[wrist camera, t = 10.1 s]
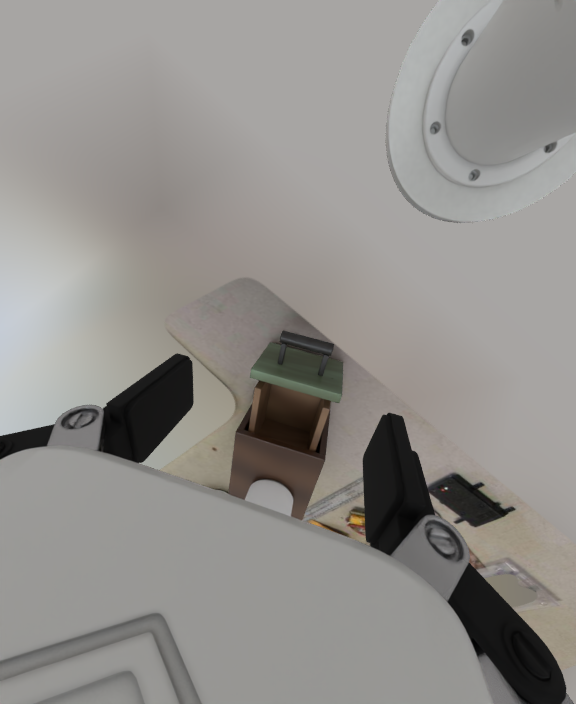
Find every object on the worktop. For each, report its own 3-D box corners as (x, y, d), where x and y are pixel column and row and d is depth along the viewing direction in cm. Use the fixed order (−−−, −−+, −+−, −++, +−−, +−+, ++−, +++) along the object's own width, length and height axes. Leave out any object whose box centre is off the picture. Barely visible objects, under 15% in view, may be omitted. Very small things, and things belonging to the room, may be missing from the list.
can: (250, 502, 37) (211, 611, 26) (249, 473, 34) (204, 581, 23) (293, 512, 36) (270, 630, 25) (295, 483, 33) (270, 601, 22)
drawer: (275, 313, 32) (255, 335, 26) (352, 333, 31) (354, 361, 24) (257, 414, 41) (239, 451, 34) (319, 432, 40) (313, 474, 33)
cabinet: (259, 389, 40) (235, 432, 31) (330, 410, 38) (325, 460, 30) (249, 451, 46) (227, 500, 38) (309, 470, 45) (300, 525, 37)
